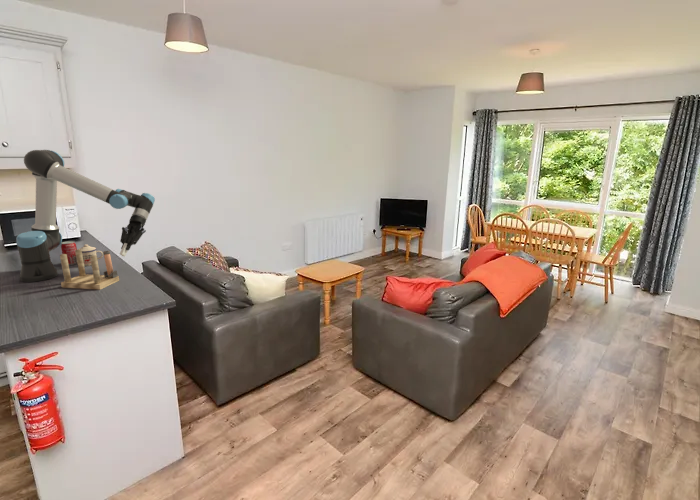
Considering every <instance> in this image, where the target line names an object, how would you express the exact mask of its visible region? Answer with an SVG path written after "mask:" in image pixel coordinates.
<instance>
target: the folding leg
mask: <svg viewBox="0 0 700 500" xmlns="http://www.w3.org/2000/svg"><path fill="white" fill-rule="evenodd" d="M102 252H103V257H104V263H105V268H106V271H107V274H106V275H107V276H109V277H112V272H114V267H113V263H112V258H111V251H110V250H104V251H102Z"/></svg>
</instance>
